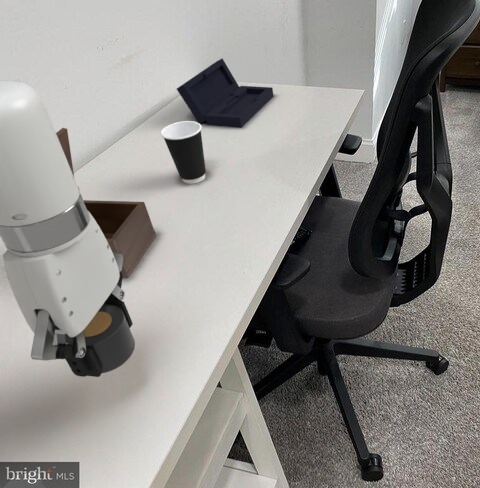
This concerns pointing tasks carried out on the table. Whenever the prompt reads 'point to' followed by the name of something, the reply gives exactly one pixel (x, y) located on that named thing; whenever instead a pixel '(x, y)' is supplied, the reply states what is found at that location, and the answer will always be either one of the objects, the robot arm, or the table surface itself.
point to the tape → (109, 337)
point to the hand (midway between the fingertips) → (104, 347)
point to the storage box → (222, 97)
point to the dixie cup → (186, 149)
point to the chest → (124, 229)
